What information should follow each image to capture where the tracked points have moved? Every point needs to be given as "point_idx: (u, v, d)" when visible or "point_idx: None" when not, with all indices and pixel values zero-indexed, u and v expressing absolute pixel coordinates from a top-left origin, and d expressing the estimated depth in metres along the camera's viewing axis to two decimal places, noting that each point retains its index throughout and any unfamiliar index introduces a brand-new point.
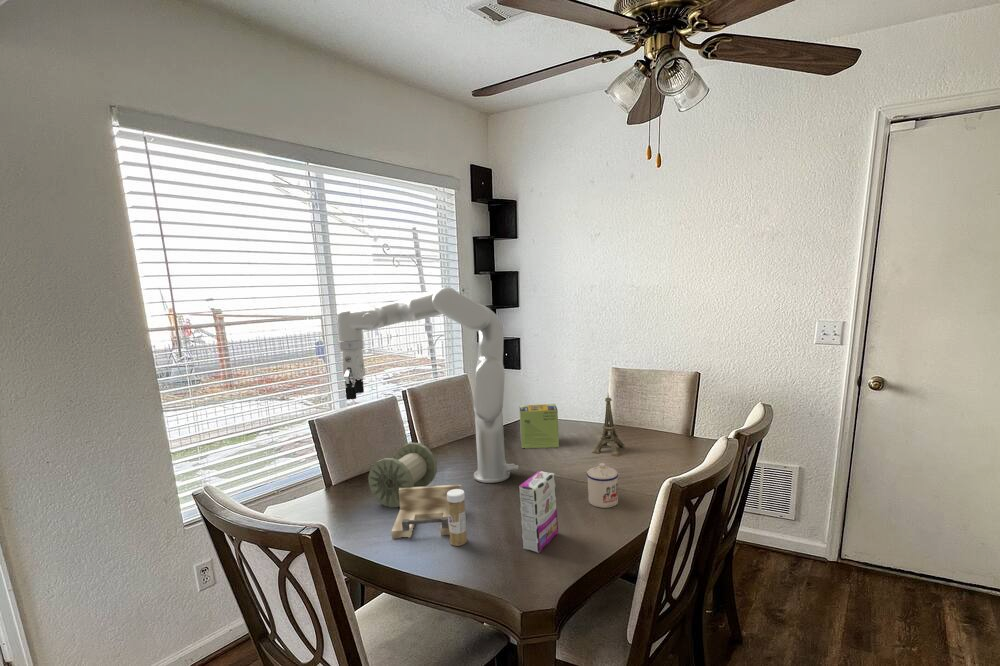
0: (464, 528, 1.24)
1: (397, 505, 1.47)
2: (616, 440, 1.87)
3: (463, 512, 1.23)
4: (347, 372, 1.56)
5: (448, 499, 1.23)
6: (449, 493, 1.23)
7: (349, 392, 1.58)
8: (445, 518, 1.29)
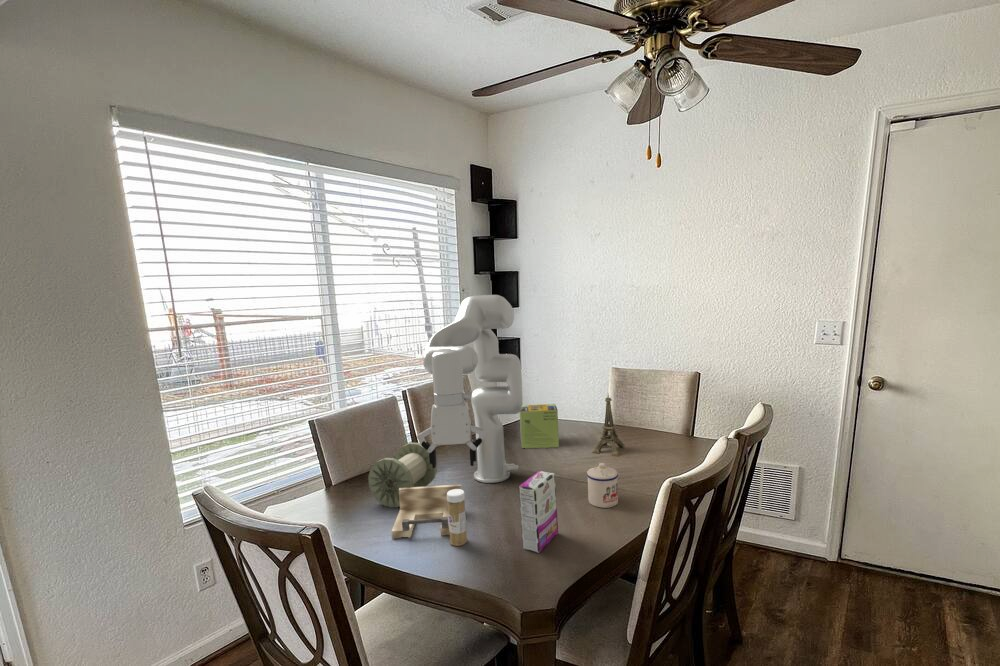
0: (464, 528, 1.24)
1: (397, 505, 1.47)
2: (616, 440, 1.87)
3: (463, 512, 1.23)
4: (478, 428, 1.23)
5: (448, 499, 1.23)
6: (449, 493, 1.23)
7: (475, 454, 1.23)
8: (445, 518, 1.29)
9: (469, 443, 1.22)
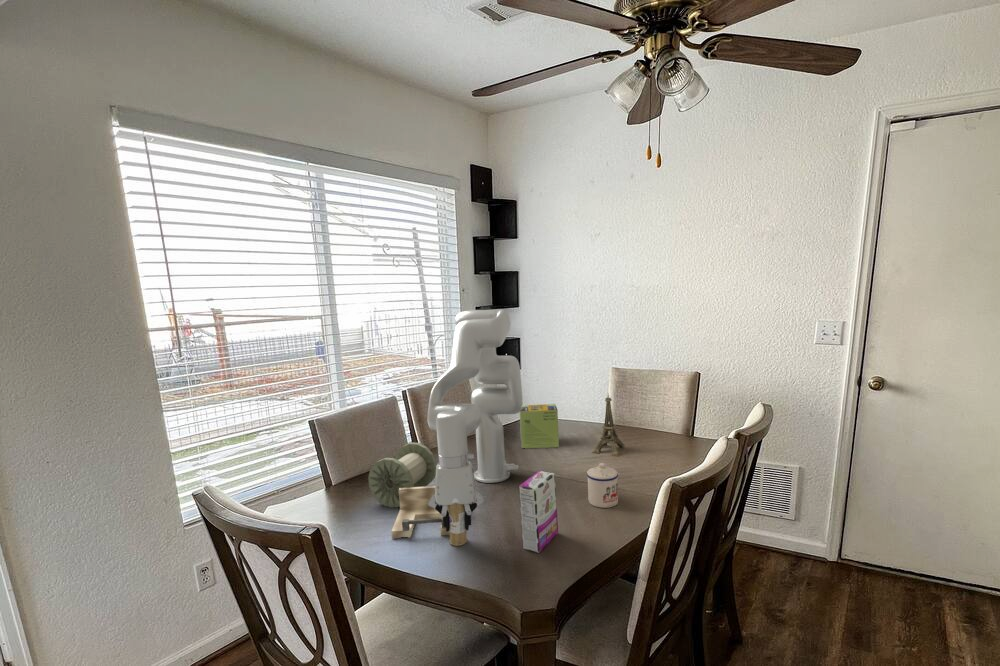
0: (464, 528, 1.24)
1: (397, 505, 1.47)
2: (616, 440, 1.87)
3: (463, 512, 1.23)
4: (479, 493, 1.24)
5: None
6: None
7: (470, 518, 1.24)
8: None
9: (467, 507, 1.23)
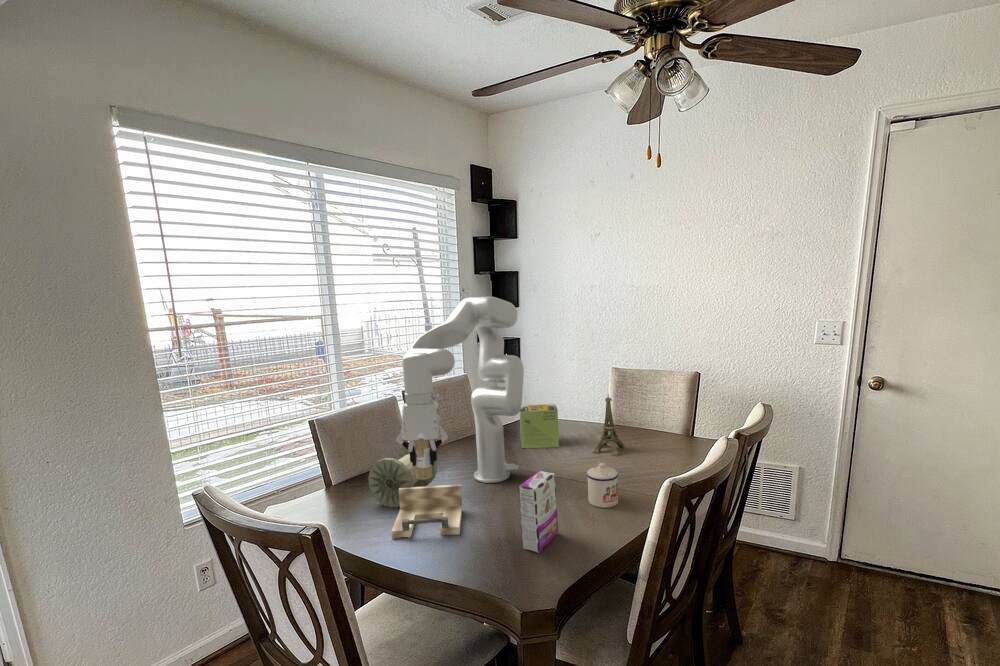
0: (429, 463, 1.31)
1: (397, 505, 1.47)
2: (616, 440, 1.87)
3: (428, 448, 1.31)
4: (443, 430, 1.32)
5: None
6: None
7: (436, 454, 1.32)
8: (445, 518, 1.29)
9: (432, 442, 1.30)
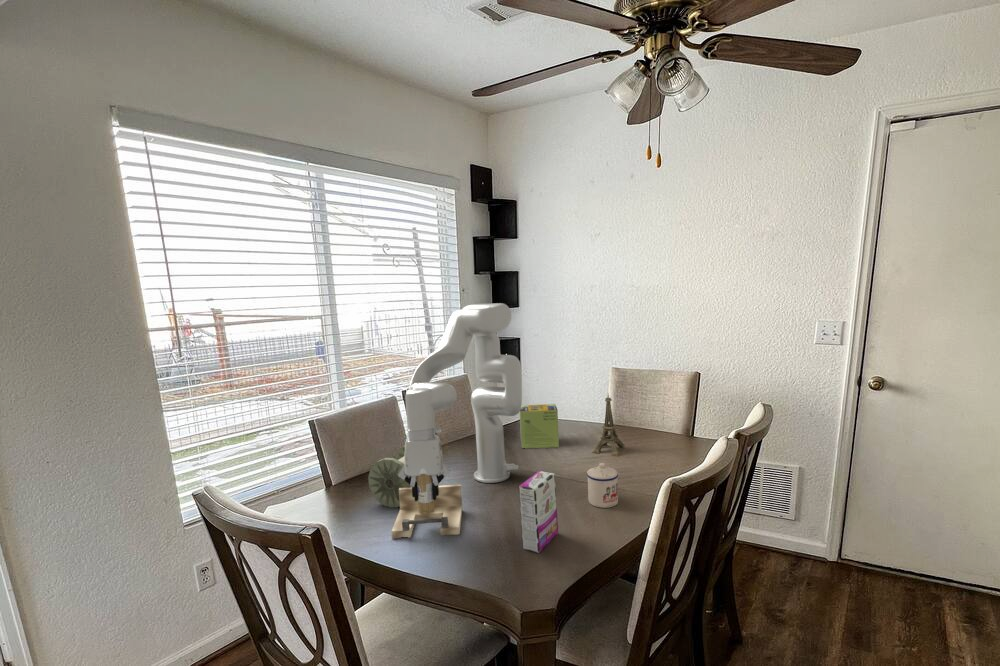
0: (432, 498, 1.32)
1: (397, 505, 1.47)
2: (616, 440, 1.87)
3: (431, 483, 1.32)
4: (446, 465, 1.32)
5: None
6: None
7: (438, 489, 1.33)
8: (445, 518, 1.29)
9: (434, 478, 1.31)
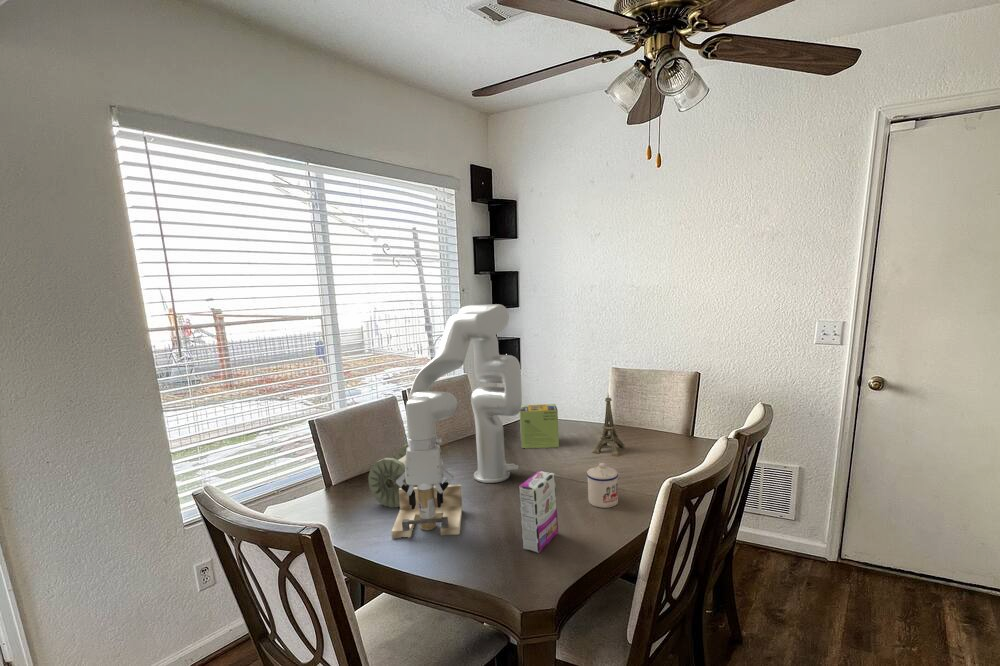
0: (433, 514, 1.32)
1: (397, 505, 1.47)
2: (616, 440, 1.87)
3: (432, 499, 1.32)
4: (448, 472, 1.33)
5: (418, 487, 1.31)
6: None
7: (442, 497, 1.33)
8: (445, 518, 1.29)
9: (437, 486, 1.31)
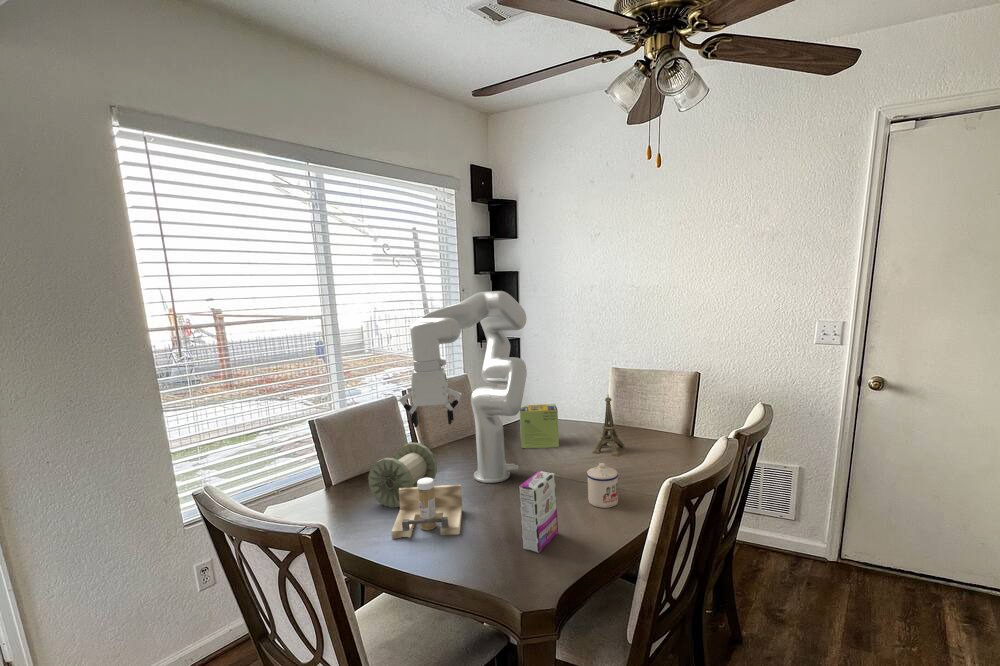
0: (433, 514, 1.32)
1: (397, 505, 1.47)
2: (616, 440, 1.87)
3: (432, 499, 1.32)
4: (454, 391, 1.37)
5: (418, 487, 1.31)
6: (419, 481, 1.32)
7: (452, 414, 1.37)
8: (445, 518, 1.29)
9: (446, 404, 1.36)
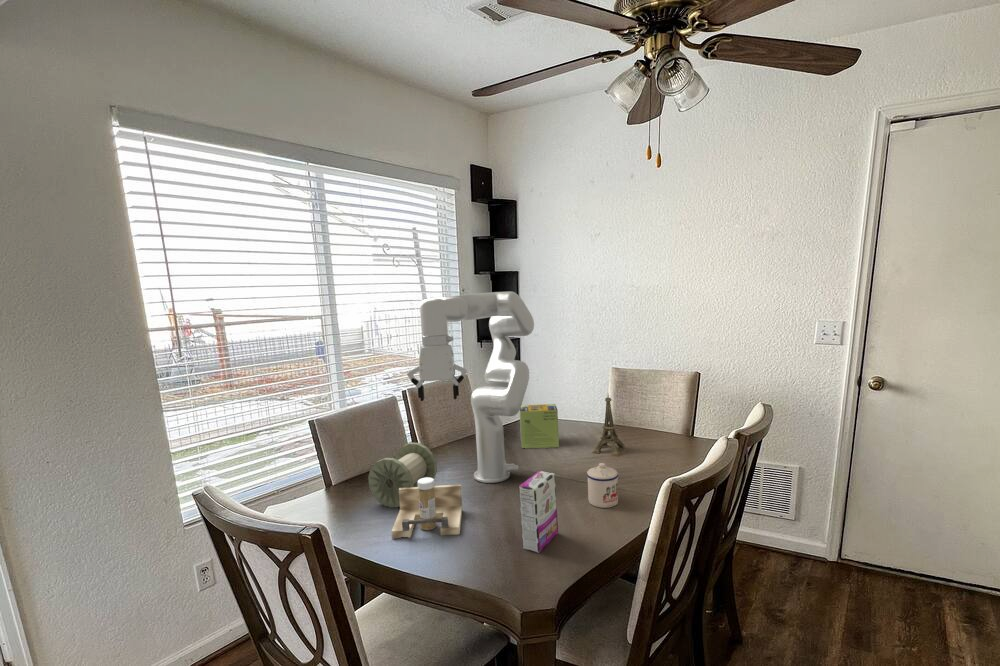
0: (433, 514, 1.33)
1: (397, 505, 1.47)
2: (616, 440, 1.87)
3: (432, 499, 1.32)
4: (460, 367, 1.41)
5: (418, 486, 1.32)
6: (419, 481, 1.32)
7: (458, 390, 1.42)
8: (445, 518, 1.29)
9: (452, 379, 1.40)
